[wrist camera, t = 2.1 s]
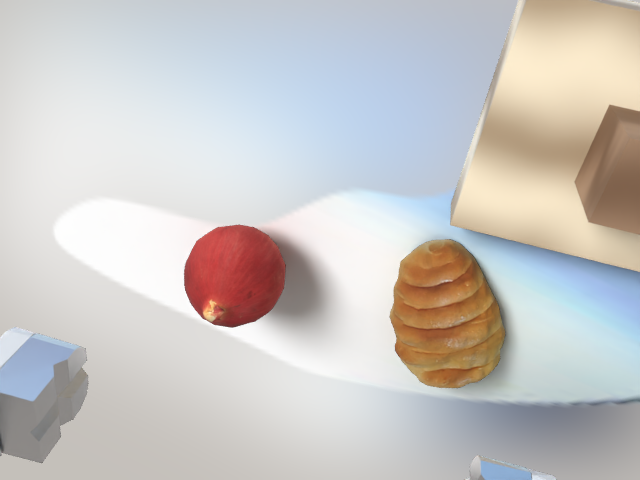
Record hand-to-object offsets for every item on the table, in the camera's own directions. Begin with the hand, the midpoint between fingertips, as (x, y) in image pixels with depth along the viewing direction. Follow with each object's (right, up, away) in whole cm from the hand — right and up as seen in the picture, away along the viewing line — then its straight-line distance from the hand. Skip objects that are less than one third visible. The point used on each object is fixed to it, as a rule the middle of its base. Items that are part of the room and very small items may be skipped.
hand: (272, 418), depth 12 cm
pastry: (+9, 0, +26) cm, 28 cm away
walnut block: (+16, +8, +16) cm, 23 cm away
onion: (-3, +4, +26) cm, 27 cm away
